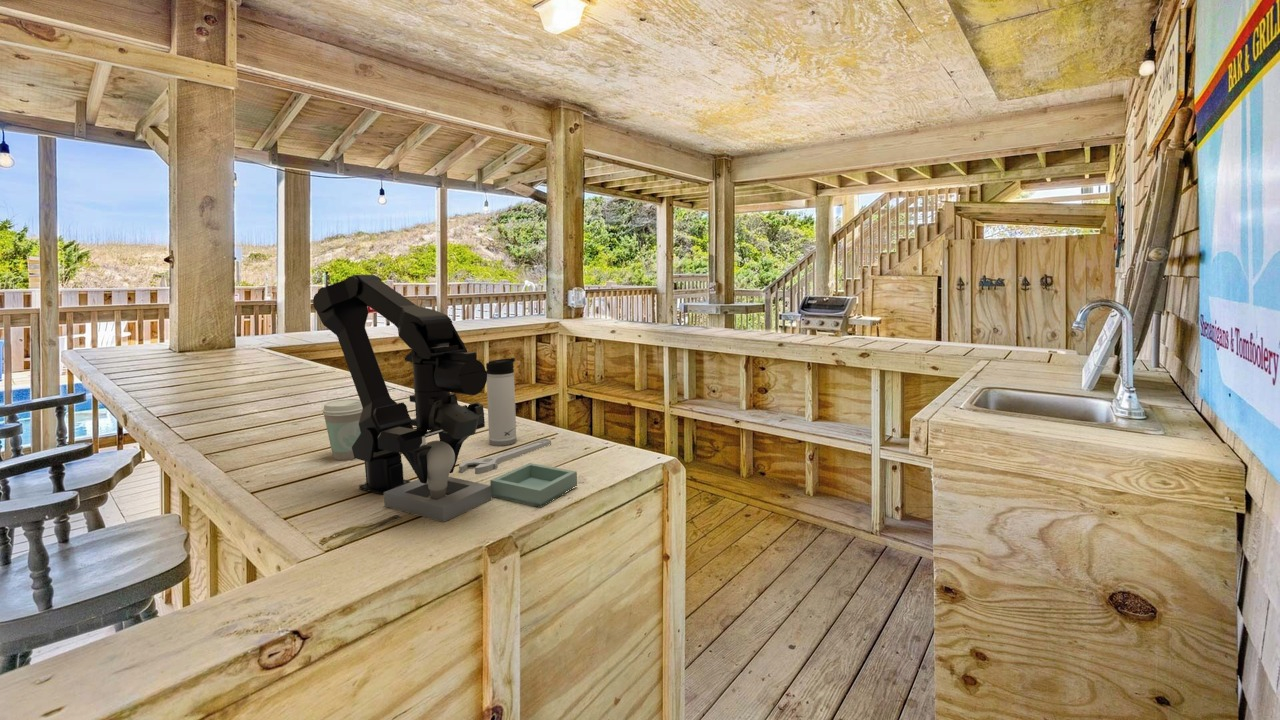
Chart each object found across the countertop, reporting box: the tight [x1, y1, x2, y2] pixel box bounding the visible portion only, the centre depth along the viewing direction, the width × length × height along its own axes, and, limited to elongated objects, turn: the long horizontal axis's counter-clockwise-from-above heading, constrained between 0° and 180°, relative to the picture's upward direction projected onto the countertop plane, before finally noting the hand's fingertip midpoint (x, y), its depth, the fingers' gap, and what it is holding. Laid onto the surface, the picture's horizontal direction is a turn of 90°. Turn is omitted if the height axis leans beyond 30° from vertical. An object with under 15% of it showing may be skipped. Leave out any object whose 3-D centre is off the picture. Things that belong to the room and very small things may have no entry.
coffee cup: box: [321, 398, 363, 461], centre depth 129 cm, size 9×8×12 cm
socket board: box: [383, 475, 492, 523], centre depth 103 cm, size 14×11×2 cm
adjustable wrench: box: [458, 438, 552, 475], centre depth 128 cm, size 25×6×2 cm, turn 142°
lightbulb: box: [426, 440, 455, 500], centre depth 102 cm, size 6×6×11 cm
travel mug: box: [485, 357, 517, 447], centre depth 138 cm, size 6×7×20 cm
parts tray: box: [489, 462, 578, 508], centre depth 108 cm, size 11×11×3 cm
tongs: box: [318, 514, 402, 550], centre depth 92 cm, size 4×13×2 cm, turn 151°
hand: (437, 477), depth 102 cm, fingers closed on lightbulb, 5 cm apart
